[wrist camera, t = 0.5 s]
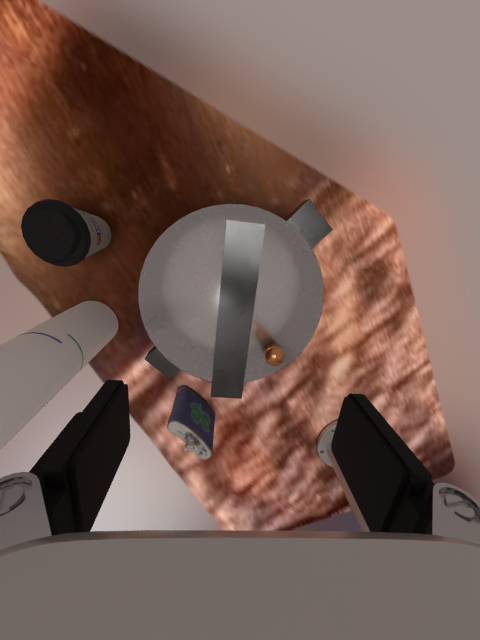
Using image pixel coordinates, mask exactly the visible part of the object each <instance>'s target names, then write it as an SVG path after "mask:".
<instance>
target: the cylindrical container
mask: <svg viewBox="0 0 480 640" xmlns="http://www.w3.org/2000/svg"><path fill="white" fill-rule="evenodd" d="M117 331H118V320H117V317H116V315H115V313H114V312H113V311H112V310H111V309H110V308H109V307H108V306H106V305H105V304H103V303H101V302H97V301H85V302H82V303H80V304H78V305H76V306H74V307H72V308H70V309H68V310H66V311H64V312H62V313H61V314H59V315H57V316H55V317H53V318H51V319H50V320H47V321H45V322H44V323H42V324H40V325H38V326H36V327H34V328H32V329H30V330H28V331H27V332H25V333H23V334H21V335H19V336H17V337H15V338H13V339H11V340H9V341H8V342H6V343H4V344H2V345H0V450H1V449H2V448H3V447H4V446H5V445H6V444H7V443H8V442H9V441H10V440H11V439H12V438H13V437H14V436H15V435H16V434H17V433H18V432H19V431H20V430H21V429H22V428H23V427H24V426H25V425H26V424H27V423H28V422H29V421H30V420H31V419H32V418H33V417H34V416H35V415H36V414H37V413H38V412H39V411H40V410H41V409H42V408H43V407H44V406H45V405H46V404H47V403H48V402H49V401H50V400H51V399H52V398H53V397H54V396H55V395H56V394H57V393H58V392H59V391H60V390H61V389H62V388H63V387H64V386H65V385H66V384H67V383H68V382H69V381H70V380H71V379H72V378H73V377H74V376H75V375H76V374H77V373H78V372H79V371H80V370H81V369H82V368H83V367H84V366H85V365H86V364H87V363H88V362H89V361H90V360H91V359H92V358H93V357H94V356H95V355H96V354H97V353H98V352H99V351H100V350H101V349H102V348H103V347H104V346H105V345H106V344H107V343H108V342H109V341H110V340H111V339H112V338H113V337H114V336H115V335H116V333H117Z"/></svg>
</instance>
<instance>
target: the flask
mask: <svg viewBox="0 0 480 640" xmlns="http://www.w3.org/2000/svg"><path fill="white" fill-rule="evenodd" d="M214 420H215V412H214V410H213V408H212V407H211V406H210V405H209V403H208V402H207V401H206V400H205V399H203V398H202V397H201V396H200V395H199V394H198V393H196V392H195V391H194V390H192V389H191V388H189V387H187V386H181V388H179V389H178V390H177V393H176V398H175V401H174V405H173V409H172V412H171V416H170V418H169V420H168V425H167V428H168V430H169V431H170V432H171V433H173V434H174V435H176V436H178V437H179V438H180V439H182V440H183V441H184V442H185V443H186V447H184V448H183V449H184V450H185V452H186V453H187V451H186V450H187V449H189V450H190V452H195V454H196V456H197V457H199V458H200V459H208V458H210V457H211V455H212V453H213V452H212V451H213V450H212V449H213V433H214Z"/></svg>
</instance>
